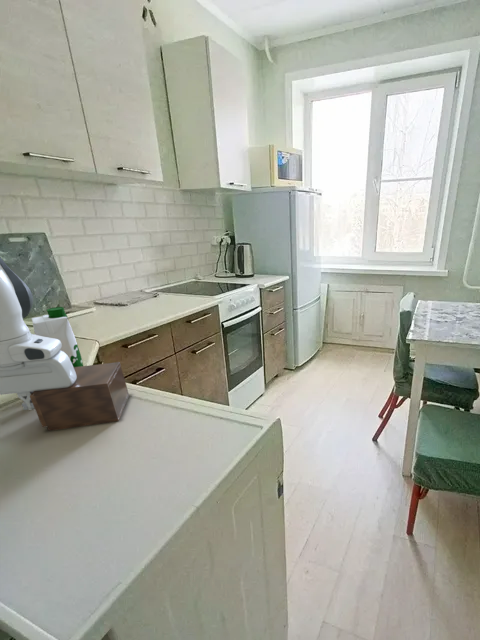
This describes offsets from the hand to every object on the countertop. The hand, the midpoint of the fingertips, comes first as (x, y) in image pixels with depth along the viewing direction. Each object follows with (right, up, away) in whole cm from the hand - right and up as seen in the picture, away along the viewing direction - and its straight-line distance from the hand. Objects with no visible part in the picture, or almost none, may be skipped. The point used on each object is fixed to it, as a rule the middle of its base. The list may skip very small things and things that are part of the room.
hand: (32, 408), depth 77 cm
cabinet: (+9, -1, +7) cm, 12 cm away
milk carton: (-9, +7, +27) cm, 30 cm away
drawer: (+7, -1, +7) cm, 9 cm away
